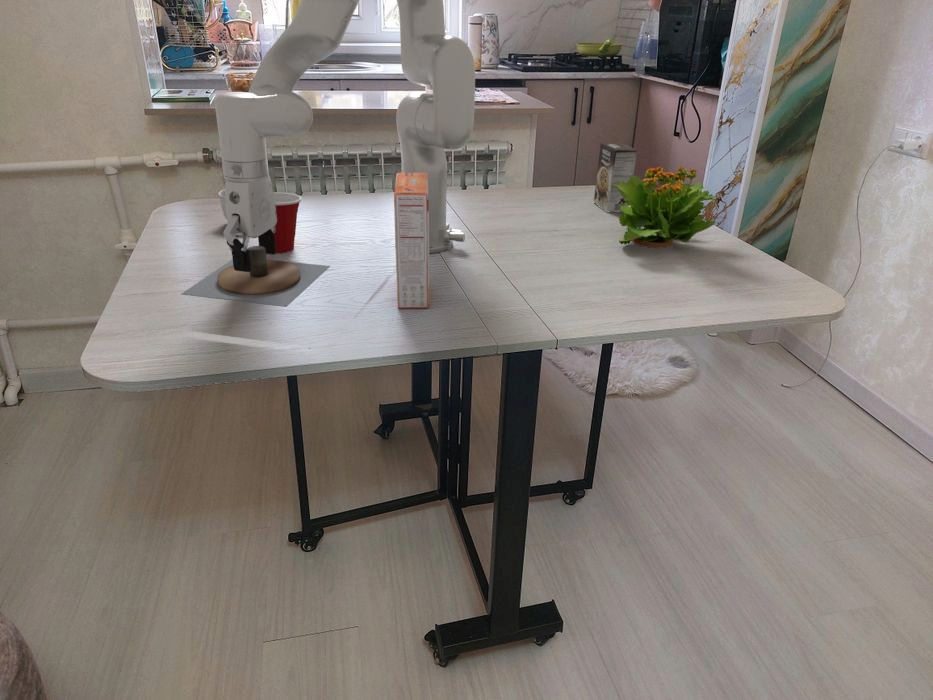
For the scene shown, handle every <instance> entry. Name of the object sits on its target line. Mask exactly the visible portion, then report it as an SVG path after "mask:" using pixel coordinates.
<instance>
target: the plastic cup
mask: <svg viewBox="0 0 933 700" xmlns="http://www.w3.org/2000/svg"><path fill="white" fill-rule="evenodd" d="M273 194H274V200H275V206H276V215H277V223H276V225H275V226H274V227H275V233H273V234H275V244H276V253H275V254H284V253H289V252H291V251H293V250H294V249H295V238H296V231H297V230H296V229H297V219H298V218H297V217H298V212H299V206H300V202H301V201H302V198H303V197H302V196H300V195H298V194H296V193H289V192H283V191H282V192H278V191H277V192H275V191H273Z"/></svg>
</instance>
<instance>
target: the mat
mask: <svg viewBox="0 0 933 700" xmlns="http://www.w3.org/2000/svg"><path fill="white" fill-rule="evenodd" d="M266 260H270V259H269V258H268V259H267V258H266ZM276 260H277V259H276ZM277 261H279V260H277ZM282 261H283V262H288V263H291V264H293V265H295V266H297V267H298V268H299V270H300V276H301V278H300V281H299V282H298V283H297V284H296V285H294V286H293V287H291V288H288V289H286V290H283V291H280V292H276V293H270V294H263V295H240V294H234V293H230V292H227V291H225V290H223V289H221V288H220V287H219V285H218V282H217V275H218V274H219V273H220V272H221V271H222V270H223V269H225V268H227V267H229V266H232V265H233V258H231V260H229V261H228V262H227V263H225V264H223V265H222V266H220V267H219V268H217V269H216V270H214V271H213V272H211V273H210V274H208V275H207V276H206V277H204V278H202V279H201V280H199V281H198V282H196V283H194V285H192V286H191V287H189V288H188V289H186V290H184V291H183V292H182V293H181V295H185V296H186V295H187V296H195V297H202V298H204V297H205V298H210V299H219V300H226V301H227V300H228V301H234V302H235V301H237V302H242V303H243V302H244V303H252V304H261V305H269V306H270V305H271V306H278V307H288V306H289V305H291V303H292V302H293V301H294V300H295V299H297V297H298V296H300V295H301V294H302V293H303V292H304V291H305V290H306V289H307V288H308V287H310V286H311V284H313V283H314V282H315V281H316V280H317V279H318V278H319V277H320V276H321V275H322V274H324V272H326V271H327V270H328V269H329V268H330V267H331V266H330V265H324V264H316V263H315V264H314V263H307V262H305V263H304V262H298V261H285V260H282Z"/></svg>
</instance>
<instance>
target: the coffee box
mask: <svg viewBox="0 0 933 700" xmlns="http://www.w3.org/2000/svg"><path fill="white" fill-rule="evenodd" d="M599 145H600V146H599V154H598V164H597V170H596V171H597V172H596V181H595V187H594V198H593V203H594V202H595V203H596V204H598V205H599V206H600V207H602V208H603V209H604V210H606V211H621V209H620V207H621V206H629V207H630V205H627V203H626V202H625V201H624V197H623V196H622V195H621V193H620V191H619V189H618V188H616V187H613V186H611V185H617V184H616V182H621V183H622V182H623V181H624V182H625V183H626V184H627V181H628V180H630V179H629V178H630V177H631V175H635V174H634V173H635V167H636V161H637V156H638V155H637V154H638V149H636V148H633V147H632V146H630V145H627V144H625V143H623V142H600V144H599ZM596 204H595V205H596ZM599 206H598V207H599ZM600 207H599V208H600ZM603 209H602V210H603ZM604 210H603V211H604ZM606 211H605V212H606Z"/></svg>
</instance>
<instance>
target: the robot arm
mask: <svg viewBox="0 0 933 700" xmlns="http://www.w3.org/2000/svg"><path fill="white" fill-rule="evenodd" d="M359 2H360V0H301V1H300V4H298V7H297V10H296V12H295V15H294V17H293V19H292V21H291V22H290V24H289V25H288V27H286V29H285V30H283V32H282V33H281V34H280V36H279V37H278V39H277V40H276V41H275V42H274V43H273V44H272V46H271V47H270V48H269V49H268V51H267V52H266V54H265V55H264V57H263V58H262V59H261V62H260V63H259V66H258V67H257V70H256V72H255V75H254V77H253V79H252V81H251V83H250V87H249V90H248V92H246V91H229V92H222V93H220V94H218V95H216V97H215V100H214V106H215V108H214V109H215V110H214V111H215V115H216V123H217V124H216V126H217V132H218V140H219V149H220V155H221V163H222V172H223V178H224V180H225V187H224V189H225V198H226V214H227V220H226V221H227V222H226V223H227V225H226V226H225V228H224V230H223V236H224V238H225V241H226V244H227V246H228V248H229V250H230V251H231V256H232V257H231V259H233V266H234V270H236V271H243V272H250V271H251V270H252V268H251V259H250V250H247V248H249V247H248V246H249V242H250V240H251V239H256V238H257V239H258V246H263V247H265V251H266V255H276V254H277V253H276V244H275V234H273V233H275V227H274V226H275V225H276V223H277V215H276V206H275V200H274V194H273V192H274V189H273V185H272V181H271V177H270V175H269V164H268V154H267V142H266V141H267V140H266V138H267V137H269V138H270V137H272V138H286V139H287V138H288V139H290V138H292V139H293V138H298V137H301V136H302V135H304V134H306V132H308V131H309V129H310V128H311V126H312V124H313V119H314V114H313V109H312V107H311V105H310V103H309V102H308V101H307V100H306V99H305V98H304V97H302V96H301V95H300V94H297V93H296V92H293V91H294V89H295V87H296V85H297V84H298V82H299V80H300V79H301V78H302V77H303V75H304V74H305V73H306V72H307V71H308V70H309V69H310V68H312V66H314V65H315V64H318V63H319V62H321V61H323V60H325V59H327V58H328V57H329V56H331V55H333V54H334V53H335V52H336V51H338V49H339V48H340V46H341V43H342V41H343V38H344V36H345V34H346V31H347V29H348V27H349V25H350V22H351V20H352V17H353V16H354V13H355V11H356V9H357V6H358V4H359ZM396 3H397V7H398V15H399V17H398V18H399V32H400V35H399V36H400V62H401V63H400V64H401V70H402V72H403V75H404V77H405V78H406V80H408V81H409V82H410V83H412V84H415V85H418V86H422V87H426V88H427V87H428V88H432V93H431V92H426V91H417V92H412V93H410V94H409V93H408V95H406V96H405V97H404V98H402V100H401V101H400V103H398V106H397V110H396V115H395V119H396V122H395V123H396V130H397V134H398V140H399V145H400V159H401V172H409V173H427V178H428V193H429V254H434V253H440V252H444V251H447V250H449V249H451V248H452V246H453V243H454V242H453V241H455V242H459V243H464V242H465V239H466V233H464V232H462V231H463V230H461V229H452V228H450V222H447V186H448V185H447V183H448V182H447V180H448V178H447V177H448V161H447V155H446V151H445V150H451V151H453V150H458V149H460V148H463V146H465V145H466V144H467V143H468V141H469V140H470V138H471V136H472V134H473V130H474V125H475V101H476V65H475V63H476V62H475V59H474V55H473V53H472V50H471V48H470V46H468V44H467V42H465V41H464V40H463V39H461V38H459V37H457V36H454V35H451V34H450V35H448V34H446V25H445V23H446V22H445V6H444V0H396ZM239 238H240V239H242V241H240V240H239Z"/></svg>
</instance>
